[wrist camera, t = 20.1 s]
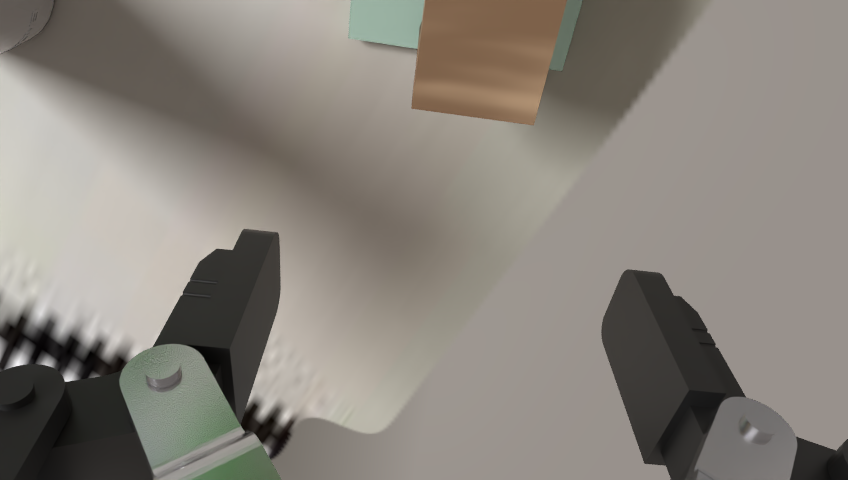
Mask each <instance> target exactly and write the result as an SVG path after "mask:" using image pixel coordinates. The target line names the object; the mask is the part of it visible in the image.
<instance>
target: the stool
mask: <svg viewBox="0 0 848 480" xmlns="http://www.w3.org/2000/svg"><path fill="white" fill-rule="evenodd" d="M566 3H567V0H425V1H424V9H423V16H422V22H421V24H420V28H419V38H418V49H417V61H416V70H415V78H414V86H413V97H412V109H419V110H426V111H433V112H441V113H448V114H455V115H462V116H470V117H477V118H484V119H492V120H499V121H506V122H513V123H521V124H528V125H534V122H535V119H536V115H537V111H538V107H539V104H540V100H541V96H542V92H543V89H544V85H545V81H546V78H547V74H548V70H549V66H550V63H551V59H552V55H553V51H554V48H555V44H556V40H557V36H558V33H559V29H560V25H561V21H562V18H563V14H564V10H565V7H566Z"/></svg>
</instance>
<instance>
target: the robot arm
mask: <svg viewBox="0 0 848 480" xmlns="http://www.w3.org/2000/svg"><path fill="white" fill-rule="evenodd" d="M53 3H54V0H0V54H1V53H2V52H6V51H9V50H11V49H13V48H14V47H16V46H18V45H19V44H21V43H23V42H25V41H27V40H29V39H31V38H32V37H34V36H35V35H36V34H38V33H39V32H40V31H41V30H42V29H43V27H44V26H45V25H46V23H47V22H48V20H49V18H50V15H51V12H52V9H53ZM279 298H280V245H279V234H278V233H277V232H268V231H259V230H249V229H244V230H243V231H242V232H241V234H240V236H239V238H238V240H237V242H236V245H235V247H234V249H233V250H225V249H216V250H214V251H213V252H212V253H211V254H209V255H208V256H207V257H205V258H204V259H203V260H201V261H200V262H199V264H198V265H197V267H196V269H195V271H194V273H193V275H192V276H191V278H190V282H188V284H187V286H186V287H185V289H184V291H183V295H182V296H180V298H179V300H178V302H177V304H176V306H175V307H174V309H173V311H172V313H171V315H170V317H169V318H168V320H167V322H166V324H165V326H164V328H163V329H162V331H161V333H160V335H159V337H158V339H157V340H156V342H155V344H154V346H153V347H152V348H150V349H147V350H145V351H143V352H141V353H139V354H138V355H136V356H135V357H134V358H132V359H131V360H130V361H129V362H128V363H127V365H126V366H125V367H124V369H123V370H122V371H120V372H117V373H114V374H110V375H106V376H101V377H95V378H88V379H82V380H76V381H70V382H65V381H64V378H63V376H62V375H61V374H60V372H58V371H57V370H56V369H54V368H52V367H49V366H45V365H38V364H28V365H21V366H16V367H12V368H9V369H6V370H3V371H1V372H0V480H281V478H280V476H279V474H278V473H277V471H276V469H275V467H274V465H273V464H272V462H271V460H270V458H269V456H268V455H267V453H266V451H265V449H264V448H263V446H262V444H261V442H260V441H259V439H258V438H257V436H256V435H255V434H254V433H253V432H248V433H245V432H244V430H243V429H242V427H241V425H240V424H241V421H242V418H243V415H244V411H245V408H246V405H247V402H248V399H249V396H250V393H251V390H252V387H253V384H254V381H255V377H256V374H257V371H258V368H259V365H260V362H261V359H262V356H263V353H264V350H265V347H266V344H267V340H268V337H269V334H270V331H271V328H272V325H273V322H274V319H275V316H276V313H277V309H278V304H279ZM602 341H603V345H604V348H605V351H606V354H607V356H608V359H609V362H610V365H611V368H612V371H613V374H614V377H615V380H616V383H617V386H618V388H619V391H620V394H621V397H622V400H623V403H624V405H625V408H626V411H627V414H628V417H629V420H630V423H631V426H632V429H633V432H634V434H635V437H636V440H637V443H638V446H639V449H640V452H641V455H642V458H643V461H644V463H645V464H655V465H666V467H667V469H668V472H669V475H670V477H671V479H670V480H848V439H847V440H846V441H845V442H844V443H843V444H842V445H841V446H840V447H839V448H838V450H837V451H835V450H833V449H830V448H827V447H824V446H821V445H818V444H815V443H813V442H809V441H807V440H804V439H801V438H798V437H796V436H795V434H794V432H793V430H792V428H791V427H790V426H789V424H788V423H787V422H786V421H785V420H784V419H783V418H782V417H781V416H780V415H779V414H778V413H776V412H775V411H774V410H772V409H771V408H769V407H768V406H766V405H764V404H762V403H760V402H758V401H756V400H753V399H749V398H746V396H745V395H744V393H743V391H742V389H741V388H740V386H739V384H738V382H737V381H736V379H735V377H734V375H733V374H732V372H731V370H730V369H729V367H728V365H727V363H726V362H725V360H724V358H723V356H722V354H721V353H720V351H719V349H718V348H716V347H715V342H714V340H713V339H712V337H711V335H710V334H709V333H707V328H706V326H705V325H704V323H703V321H702V320H701V318H700V316H699V314H698V313H697V312H696V311H695V310H694V309H693V308H692V307H691V306H690V305H689V304H688V303H687V302H686V301H685V300H684V299H683V298H682V297H680V296H674V295H673V293H672V291H671V290H670V288H669V286H668V284H667V282H666V280H665V278H664V277H663V275H662V274H660V273H656V272H647V271H637V270H626V271H624V273H623V274H622V276H621V278H620V280H619V283H618V285H617V287H616V290H615V292H614V294H613V297H612V299H611V301H610V304H609V306H608V309H607V311H606V313H605V316H604V318H603V322H602Z"/></svg>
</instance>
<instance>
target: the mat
mask: <svg viewBox="0 0 848 480" xmlns="http://www.w3.org/2000/svg"><path fill="white" fill-rule="evenodd" d="M424 1H425V0H351V6H350V21H349V36H348V38H349V39H356V40H362V41H369V42H375V43H382V44H388V45H395V46H401V47H408V48H414V49H418V38H419V28H420V24H421V22H422V16H423V9H424ZM582 1H583V0H567V3H566V7H565V10H564V14H563V18H562V21H561V25H560V29H559V33H558V36H557V40H556V44H555V48H554V51H553V55H552V59H551V63H550V66H549V69H550V70H557V71H562V70H563V67H564V63H565V60H566V56H567V53H568V49H569V46H570V43H571V39H572V36H573V32H574V29H575V25H576V22H577V19H578V15H579V12H580V8H581V5H582Z"/></svg>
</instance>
